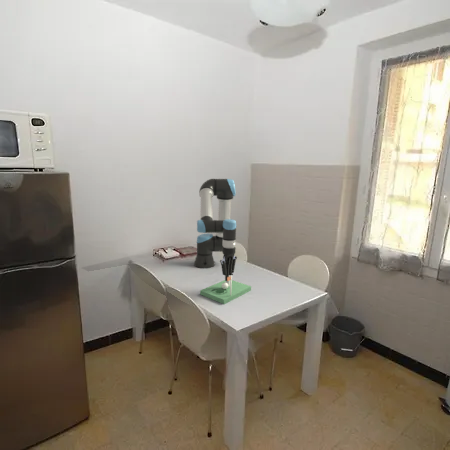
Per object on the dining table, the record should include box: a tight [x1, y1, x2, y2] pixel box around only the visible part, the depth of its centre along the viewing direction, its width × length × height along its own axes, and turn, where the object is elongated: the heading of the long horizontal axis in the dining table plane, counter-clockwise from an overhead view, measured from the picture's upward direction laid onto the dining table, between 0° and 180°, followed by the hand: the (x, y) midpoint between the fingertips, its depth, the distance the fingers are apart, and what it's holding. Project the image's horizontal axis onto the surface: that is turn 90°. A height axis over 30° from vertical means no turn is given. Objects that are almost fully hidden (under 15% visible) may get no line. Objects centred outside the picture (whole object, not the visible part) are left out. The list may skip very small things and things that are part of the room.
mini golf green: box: [199, 275, 252, 305], centre depth 172 cm, size 25×18×14 cm
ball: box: [222, 282, 228, 289], centre depth 171 cm, size 4×4×4 cm
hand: (228, 285), depth 173 cm, fingers closed
